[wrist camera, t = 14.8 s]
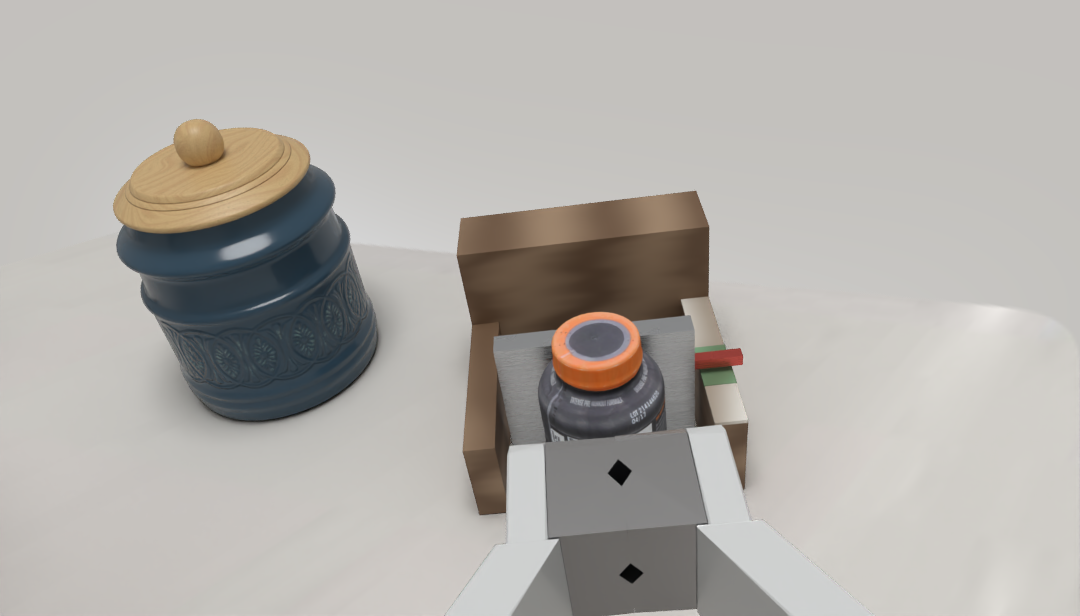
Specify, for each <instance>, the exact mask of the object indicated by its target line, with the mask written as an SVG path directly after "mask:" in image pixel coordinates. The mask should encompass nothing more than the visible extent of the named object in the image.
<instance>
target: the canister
mask: <svg viewBox="0 0 1080 616" xmlns="http://www.w3.org/2000/svg"><path fill="white" fill-rule="evenodd" d="M334 200H335V186H334V183H333V181H332V180H331V178H330V177H329V176H328V175H327V173H325V172H324V171H323V170H321V169H319V168H317V167H315V166H313V165H310V155H309V152H308V150H307V148H306V147H305V146H304V145H303V144H302V143H301V142H299V141H297V140H295V139H293V138H290V137H286V136H282V135H276V134H273V133H271V132H269V131H266V130H263V129H257V128H231V129H223V130H218V129H217V128H216V127H215V126H214V125H213V124H211V123H210V122H208V121H205V120H201V119H194V120H190V121H186V122H184V123H183V124H181V125H180V126H179V127H178V128H177V129H176V132H175V134H174V144H172V145H170V146H168V147H165V148H163V149H162V150H160V151H158V152H156V153H155V154H153V155H151V156H150V157H149V158H147V159H146V160H145V161H143V162H142V163H141V164H140V165H139V166H138V167H137V168H136V169H135V171H134V172H133V174H132V176H131V178H130V179H129V180H128V181H127V182H126V184H124V186H123V187H122V188H121V189H120V191H119V192H118V194H117V195H116V198H115V200H114V203H113V210H114V213H115V216H116V217H117V219H118V220H119V221H120V222H121V223H122V224H124V225H123V227H122V229H121V230H120V233H119V235H118V238H117V244H116V247H117V253H118V256H119V258H120V259H121V261H122V262H123V263H124V264H125V265H126V266H127V267H129V268H130V269H132V270H133V271H135V272H137V273H140V276H141V278H142V283H141V297H142V300H143V303H144V305H145V306H146V307H147V309H148V310H149V311H150V312H151V313H152V314H154V315H155V317H156V319H157V321H158V323H159V325H160V327H161V328H162V330H163V332H164V334H165V336H166V338H167V340H168V341H169V343H170V345H171V347H172V349H173V351H174V353H175V355H176V356H177V358H178V360H179V362H180V367H181V371H182V374H183V376H184V378H185V380H186V381H187V383H188V385H189V387H190V389H191V390H192V391H193V392H194V394H195V395H196V396H198V397H199V398H200V399H201V400H202V401H203V403H204V404H205V405H206V406H207V407H208V408H209V409H211V410H212V411H214V412H215V413H218V414H220V415H222V416H225V417H228V418H232V419H238V420H268V419H275V418H280V417H284V416H288V415H292V414H295V413H299V412H301V411H304V410H307V409H309V408H311V407H314V406H316V405H318V404H320V403H322V402H324V401H326V400H328V399H329V398H331V397H333V396H334V395H336V394H337V393H339V392H340V391H342V390H343V389H344V388H346V387H347V386H348V385H349V384H350V383H352V382H353V381H354V380H355V379H356V378H357V377H358V376H359V375H360V374H361V372H362V371H363V370H364V369H365V367H366V366H367V365H368V363H369V361H370V360H371V358H372V356H373V354H374V351H375V348H376V343H377V332H376V316H375V312H374V310H373V306H372V302H371V300H370V298H369V296H368V295H367V293H366V292H365V289H364V286H363V283H362V280H361V277H360V274H359V271H358V267H357V264H356V261H355V258H354V255H353V252H352V249H351V246H350V233H349V230H348V227H347V225H346V223H345V222H344V221H343V220H342V218H340V217H339V216H338V215H337V214H335V213H334V211H333V209H332V206H333V203H334Z"/></svg>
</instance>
